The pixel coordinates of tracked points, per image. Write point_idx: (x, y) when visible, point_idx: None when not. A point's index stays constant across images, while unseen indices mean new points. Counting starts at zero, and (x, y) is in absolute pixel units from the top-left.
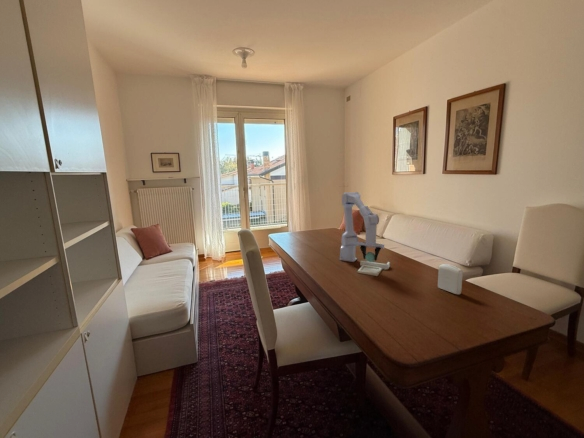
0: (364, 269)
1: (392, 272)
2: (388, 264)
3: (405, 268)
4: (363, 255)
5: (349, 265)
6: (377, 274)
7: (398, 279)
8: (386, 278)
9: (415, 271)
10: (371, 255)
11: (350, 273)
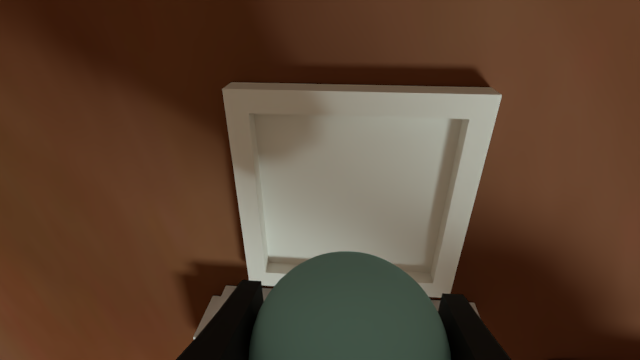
0: (415, 209)
1: (150, 243)
2: None
3: (114, 346)
4: (498, 353)
5: (597, 276)
6: (225, 87)
7: (10, 83)
8: (117, 51)
9: (30, 317)
10: (300, 355)
11: (599, 8)
